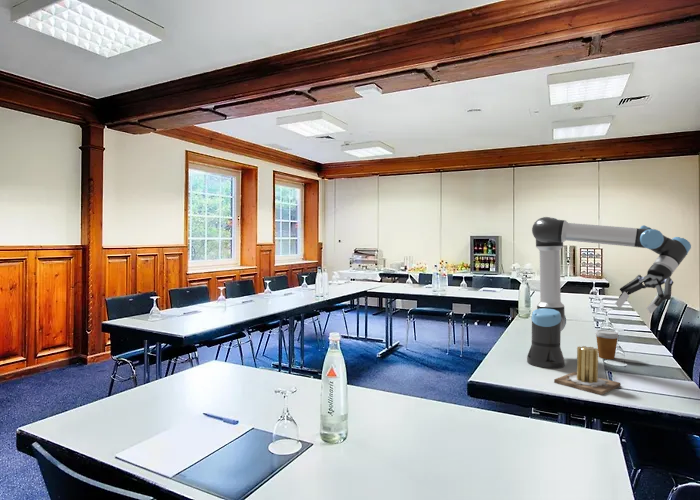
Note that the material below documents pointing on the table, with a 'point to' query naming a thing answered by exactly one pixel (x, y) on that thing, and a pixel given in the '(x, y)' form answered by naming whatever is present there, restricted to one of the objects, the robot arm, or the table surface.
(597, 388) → the board
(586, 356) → the brass pinion gear
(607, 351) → the disposable coffee cup
